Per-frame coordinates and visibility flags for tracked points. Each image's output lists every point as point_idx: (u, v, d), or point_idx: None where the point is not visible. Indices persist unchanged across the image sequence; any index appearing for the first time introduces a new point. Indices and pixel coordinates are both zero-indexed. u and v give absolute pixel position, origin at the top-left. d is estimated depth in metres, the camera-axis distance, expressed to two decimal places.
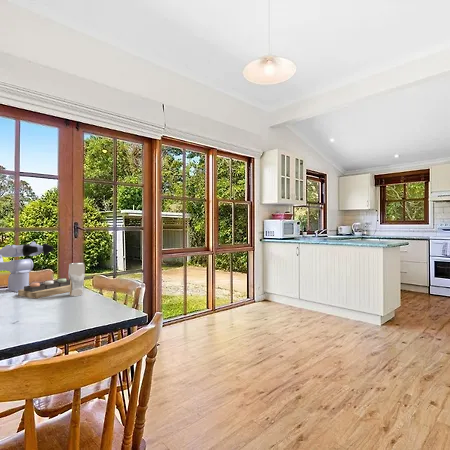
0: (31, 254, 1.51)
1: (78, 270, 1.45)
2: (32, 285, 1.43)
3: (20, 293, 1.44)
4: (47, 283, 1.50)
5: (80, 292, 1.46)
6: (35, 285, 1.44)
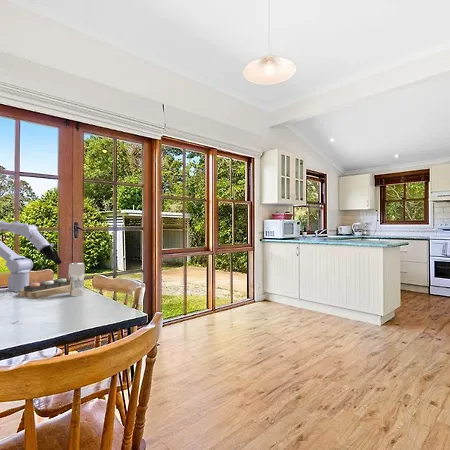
0: None
1: (78, 270, 1.45)
2: (32, 285, 1.43)
3: (20, 293, 1.44)
4: (47, 283, 1.50)
5: (80, 292, 1.46)
6: (35, 285, 1.44)
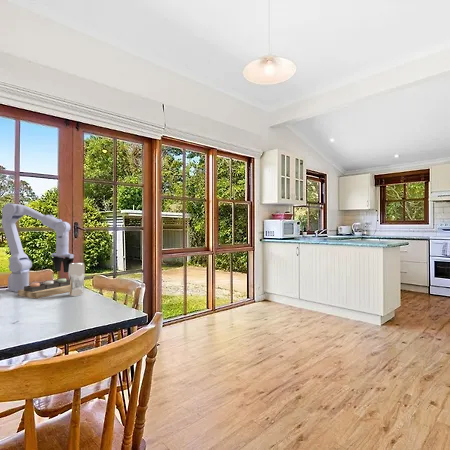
0: None
1: (78, 270, 1.45)
2: (32, 285, 1.43)
3: (20, 293, 1.44)
4: (47, 283, 1.50)
5: (80, 292, 1.46)
6: (35, 285, 1.44)
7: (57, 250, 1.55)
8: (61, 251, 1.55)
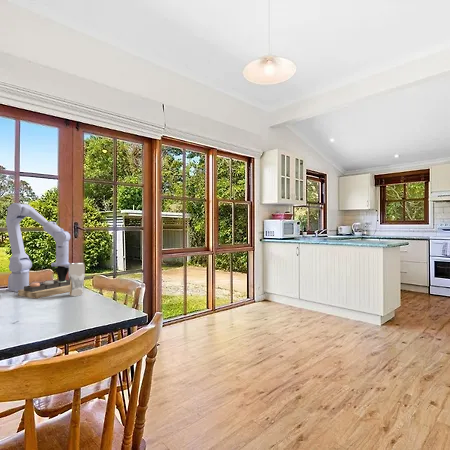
0: None
1: (78, 270, 1.45)
2: (32, 285, 1.43)
3: (20, 293, 1.44)
4: (47, 283, 1.50)
5: (80, 292, 1.46)
6: (35, 285, 1.44)
7: (57, 260, 1.55)
8: (61, 261, 1.55)
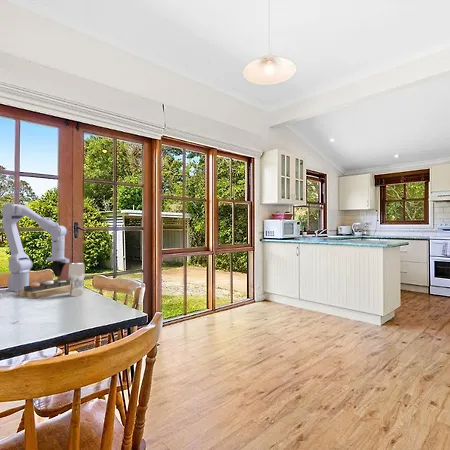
0: (55, 259, 1.53)
1: (78, 270, 1.45)
2: (32, 285, 1.43)
3: (20, 293, 1.44)
4: (47, 283, 1.50)
5: (80, 292, 1.46)
6: (35, 285, 1.44)
7: (53, 254, 1.53)
8: (57, 255, 1.53)
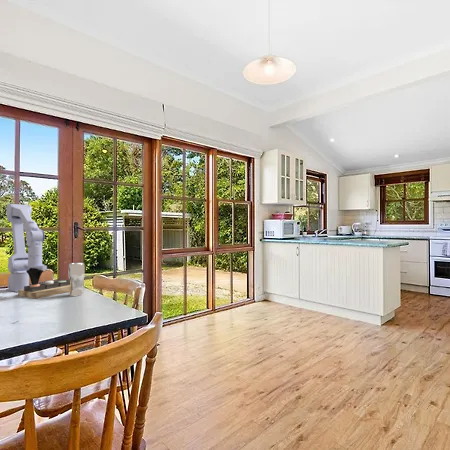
0: None
1: (78, 270, 1.45)
2: (32, 286, 1.43)
3: (20, 293, 1.44)
4: (47, 283, 1.50)
5: (80, 292, 1.46)
6: (35, 286, 1.44)
7: (29, 261, 1.43)
8: (33, 262, 1.43)
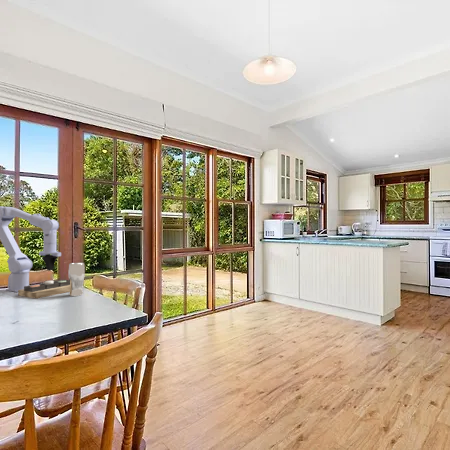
0: None
1: (78, 270, 1.45)
2: None
3: (20, 293, 1.44)
4: (47, 283, 1.50)
5: (80, 292, 1.46)
6: None
7: (44, 248, 1.54)
8: (48, 249, 1.53)
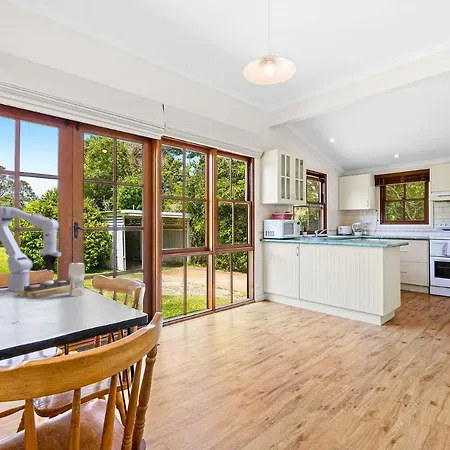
0: None
1: (78, 270, 1.45)
2: None
3: (20, 293, 1.44)
4: (47, 283, 1.50)
5: (80, 292, 1.46)
6: None
7: (44, 248, 1.54)
8: (48, 249, 1.53)
